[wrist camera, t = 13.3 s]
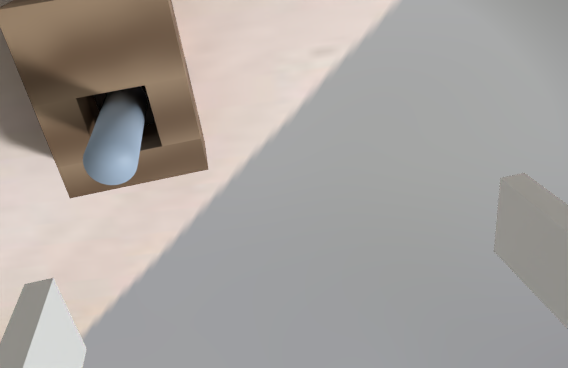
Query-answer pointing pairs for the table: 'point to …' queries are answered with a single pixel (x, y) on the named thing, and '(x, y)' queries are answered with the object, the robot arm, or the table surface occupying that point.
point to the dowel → (117, 137)
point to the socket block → (105, 80)
